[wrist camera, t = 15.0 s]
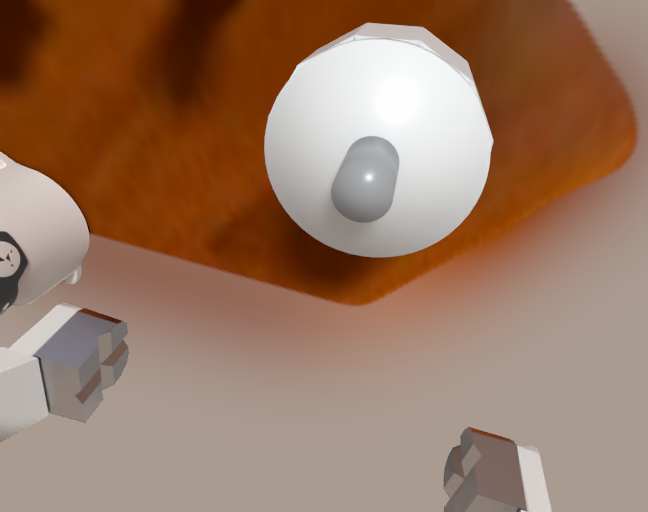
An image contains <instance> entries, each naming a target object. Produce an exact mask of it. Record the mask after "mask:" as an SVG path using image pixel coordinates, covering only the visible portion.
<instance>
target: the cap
mask: <svg viewBox="0 0 648 512" xmlns="http://www.w3.org/2000/svg"><path fill="white" fill-rule="evenodd" d="M492 144H493V138H492V135H491V131H490V128H489V125H488V122H487V118H486V115H485V112H484V109H483V106H482V103H481V100H480V97H479V94H478V91H477V88H476V85H475V82H474V79H473V76H472V74H471V71H470V68H469V65H468V62H467V61H466V60H465V59H463V58H462V57H461V56H460V55H458V54H457V53H456V52H454V51H453V50H452V49H451V48H449V47H448V46H447V45H445V44H444V43H443V42H442V41H440V40H439V39H438V38H437V37H435V36H434V35H433V34H431V33H430V32H429V31H428V30H426V29H425V28H424V27H414V26H401V25H388V24H376V23H366V24H364V25H362V26H360V27H358V28H356V29H355V30H353V31H351V32H349V33H347V34H345V35H343V36H342V37H340V38H338V39H336V40H334V41H332V42H330V43H329V44H327V45H325V46H323V47H321V48H319V49H318V50H316V51H315V52H314V53H313V54H311V55H310V56H309V57H307V58H306V59H305V60H304V61H302V62H301V63H300V64H298V65H297V67H296V69H295V71H294V72H293V74H292V76H291V78H290V79H289V81H288V82H287V83H286V84H285V86H284V87H283V89H282V90H281V92H280V93H279V95H278V97H277V99H276V101H275V103H274V105H273V107H272V109H271V112H270V114H269V116H268V122H267V127H266V133H265V147H264V151H265V162H266V167H267V172H268V176H269V179H270V182H271V185H272V188H273V190H274V192H275V194H276V196H277V198H278V200H279V202H280V203H281V205H282V206H283V208H284V209H285V211H286V212H287V213H288V214H289V216H290V217H291V218H292V219H293V220H294V221H295V222H296V223H297V224H298V225H299V226H300V227H301V228H302V229H303V230H304V231H306V232H307V233H308V234H310V235H311V236H312V237H314V238H315V239H317V240H319V241H320V242H322V243H324V244H325V245H328V246H330V247H332V248H334V249H337V250H340V251H343V252H346V253H349V254H353V255H358V256H365V257H393V256H401V255H405V254H409V253H413V252H416V251H419V250H421V249H424V248H426V247H428V246H430V245H432V244H434V243H436V242H438V241H440V240H441V239H443V238H444V237H445V236H447V235H448V234H450V233H451V232H452V231H453V230H454V229H455V228H457V227H458V226H459V225H460V224H461V223H462V222H463V220H464V219H465V218H466V217H467V216H468V215H469V213H470V212H471V210H472V209H473V207H474V206H475V204H476V203H477V201H478V199H479V197H480V195H481V193H482V191H483V188H484V185H485V182H486V179H487V175H488V170H489V164H490V152H491V148H492Z"/></svg>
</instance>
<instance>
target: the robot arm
mask: <svg viewBox="0 0 648 512" xmlns="http://www.w3.org/2000/svg"><path fill="white" fill-rule="evenodd" d="M89 244H90V237H89V230H88V227H87V223H86V221H85V218H84V216H83V214H82V212H81V211H80V209H79V207H78V206H77V205H76V203H75V202H74V200H73V199H72V198H71V197H70V196H69V195H68V194H67V192H66V191H65V190H63V189H62V188H61V187H60V186H59V185H58V184H57V183H55V182H54V181H53V180H51V179H50V178H48V177H47V176H45V175H43V174H41V173H39V172H37V171H35V170H33V169H30V168H27V167H25V166H22V165H19V164H17V163H15V162H14V161H13V160H11V159H10V158H9V157H7V156H6V155H4V154H3V153H2V152H0V315H1V314H3V313H4V312H5V310H6V309H7V308H9V307H10V306H11V305H29V304H31V303H33V302H35V301H36V300H37V299H39V298H40V297H41V296H43V295H44V294H45V293H47V292H48V291H50V290H51V289H52V288H54V287H55V286H56V285H58V284H75V283H76V282H78V281H79V280H80V279H81V277H82V266H81V265H82V261H83V260H84V258H85V256H86V254H87V252H88V249H89ZM127 334H128V330H127V323H125V322H124V321H121V320H118V319H115V318H112V317H109V316H106V315H103V314H100V313H97V312H94V311H91V310H88V309H85V308H82V307H79V306H76V305H72V304H69V303H66V302H63V303H60V304H58V305H56V306H55V307H54V308H53V309H52V310H51V311H49V312H48V313H47V314H46V315H45V316H44V317H43V318H42V319H41V320H40V321H39V322H37V324H35V325H34V326H33V327H32V328H31V329H30V330H29V331H28V332H27V333H25V334H24V335H23V336H22V337H21V338H20V339H19V340H18V341H16V342H15V343H14V344H13V345H12V346H11V347H10V348H5V347H1V348H0V442H2V441H4V440H6V439H7V438H9V437H11V436H13V435H14V434H16V433H18V432H20V431H21V430H23V429H25V428H27V427H28V426H30V425H32V424H34V423H36V422H37V421H39V420H41V419H43V418H45V417H46V416H48V415H49V413H52V414H55V415H59V416H63V417H66V418H69V419H73V420H76V421H80V422H83V423H86V421H87V420H88V419H89V417H90V416H91V415H92V413H93V412H94V411H95V409H96V408H97V407H98V405H99V404H100V402H102V400H103V395H102V390H104V389H106V388H108V387H110V386H112V385H114V384H115V382H116V381H117V380H118V379H119V377H120V376H121V374H122V372H123V370H124V368H125V365H126V363H127V359H128V354H129V353H128V346H127V344H126V343H125V341H124V340H123V338H124V337H125V336H126V335H127ZM444 490H445V492H446V493H447V495H448V496H449V498H450V500H449V502H448V503H447V505H446V506H445V507H444V512H552V510H551V506H550V502H549V496H548V492H547V487H546V483H545V478H544V473H543V469H542V464H541V460H540V455H539V452H538V450H537V449H536V447H533V446H530V445H527V444H524V443H520V442H517V441H514V440H511V439H508V438H505V437H502V436H498V435H495V434H491V433H488V432H484V431H481V430H478V429H474V428H471V427H468V428H466V429H465V430H464V431H463V433H462V435H461V445H459V446H456V447H453V449H452V450H451V452H450V454H449V456H448V459H447V462H446V465H445V471H444Z"/></svg>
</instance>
